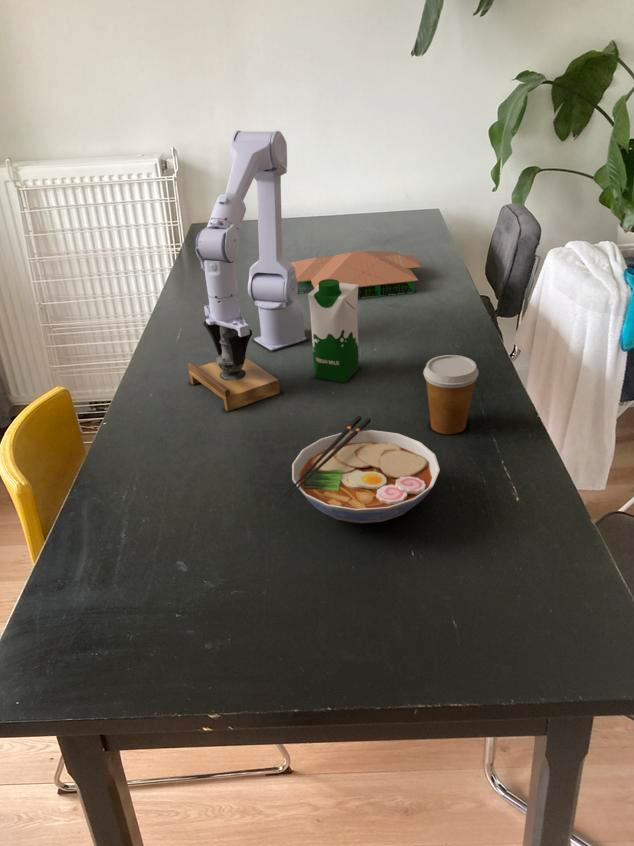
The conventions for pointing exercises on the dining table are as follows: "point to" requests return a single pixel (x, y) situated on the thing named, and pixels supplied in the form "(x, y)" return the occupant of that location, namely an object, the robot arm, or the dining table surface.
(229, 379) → the grey stone finial
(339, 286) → the milk carton
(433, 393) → the disposable coffee cup
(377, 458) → the ramen bowl
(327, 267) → the house
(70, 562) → the dining table surface
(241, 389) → the shelf stand
